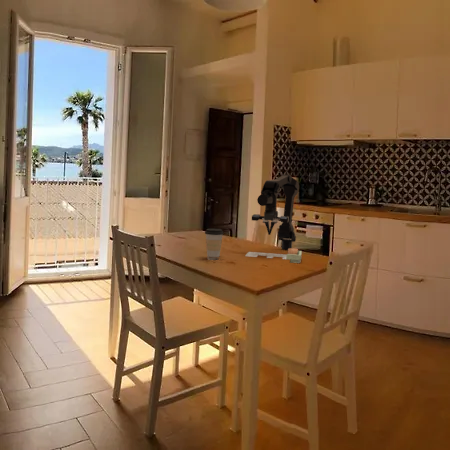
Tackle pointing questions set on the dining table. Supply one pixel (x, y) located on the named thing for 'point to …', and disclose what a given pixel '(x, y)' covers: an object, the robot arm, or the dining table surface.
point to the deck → (290, 257)
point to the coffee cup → (213, 243)
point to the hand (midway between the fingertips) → (269, 234)
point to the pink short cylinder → (293, 251)
